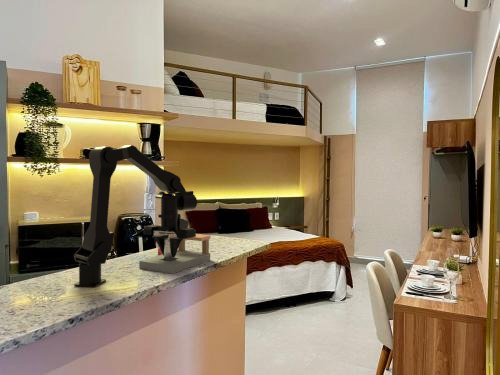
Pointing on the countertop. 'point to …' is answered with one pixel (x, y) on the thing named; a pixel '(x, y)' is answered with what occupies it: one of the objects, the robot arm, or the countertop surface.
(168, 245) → the peg
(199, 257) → the socket board
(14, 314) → the countertop surface
